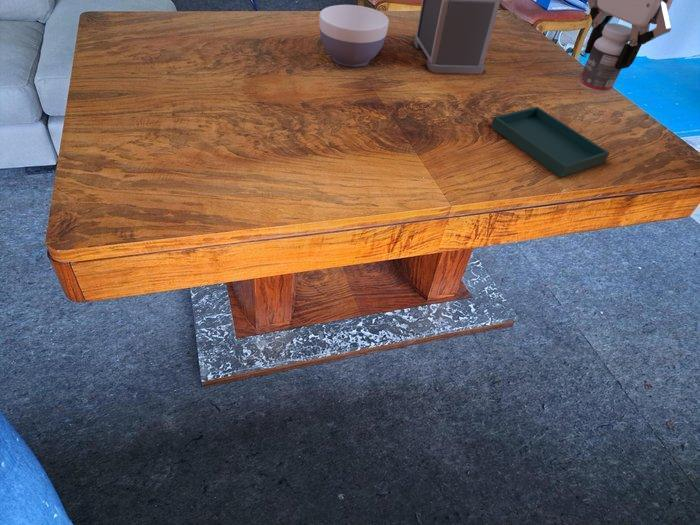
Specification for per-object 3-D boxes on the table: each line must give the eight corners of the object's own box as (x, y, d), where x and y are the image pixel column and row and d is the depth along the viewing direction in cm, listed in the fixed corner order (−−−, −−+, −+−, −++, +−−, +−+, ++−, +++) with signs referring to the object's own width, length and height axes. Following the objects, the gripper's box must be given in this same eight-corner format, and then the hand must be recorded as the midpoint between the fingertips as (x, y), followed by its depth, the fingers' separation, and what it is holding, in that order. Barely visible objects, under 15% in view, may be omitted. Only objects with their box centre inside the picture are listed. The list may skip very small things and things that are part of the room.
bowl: (394, 57, 125) (400, 16, 118) (364, 79, 114) (369, 36, 108) (338, 40, 129) (340, -1, 123) (304, 60, 119) (305, 17, 112)
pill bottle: (575, 77, 92) (599, 19, 85) (607, 82, 91) (634, 24, 84) (580, 90, 88) (605, 31, 81) (613, 96, 87) (641, 37, 80)
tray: (604, 163, 97) (609, 152, 96) (560, 177, 92) (565, 166, 91) (533, 116, 109) (536, 106, 107) (490, 127, 104) (493, 116, 102)
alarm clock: (483, 73, 122) (506, -9, 109) (431, 72, 120) (448, -12, 107) (460, 43, 135) (478, -34, 122) (412, 41, 133) (426, -37, 120)
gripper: (730, -49, 70) (663, 78, 83) (628, -79, 80) (582, 38, 93) (698, -46, 67) (634, 85, 80) (596, -78, 77) (553, 43, 90)
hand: (606, 58), depth 86 cm, fingers closed on pill bottle, 5 cm apart
